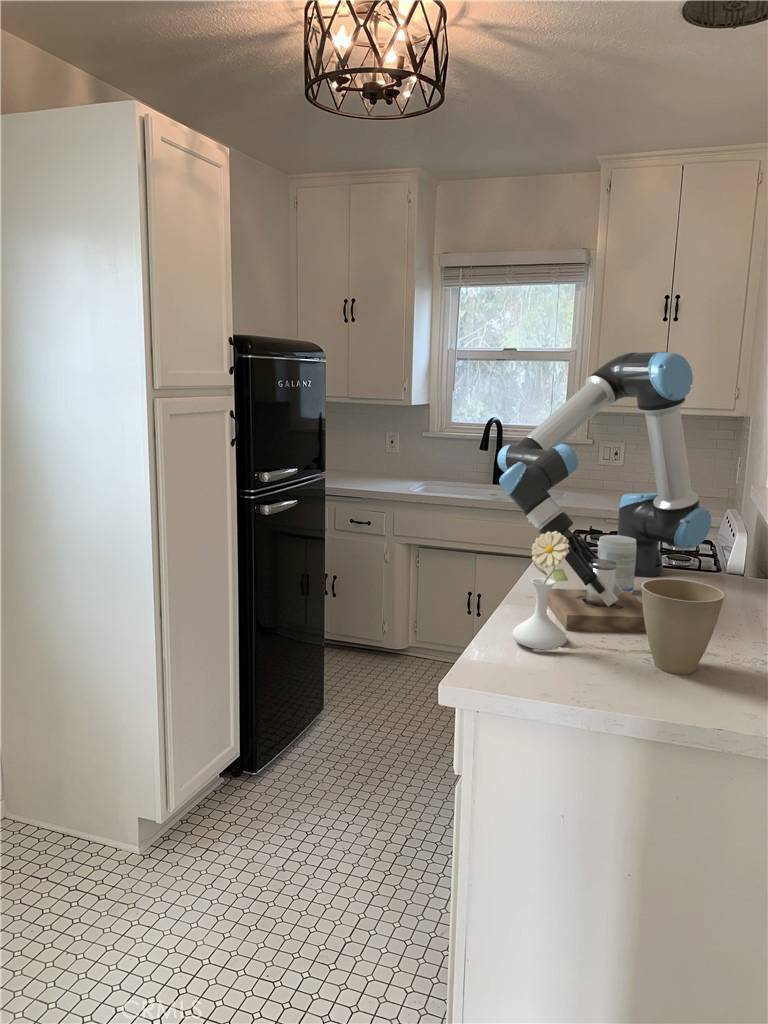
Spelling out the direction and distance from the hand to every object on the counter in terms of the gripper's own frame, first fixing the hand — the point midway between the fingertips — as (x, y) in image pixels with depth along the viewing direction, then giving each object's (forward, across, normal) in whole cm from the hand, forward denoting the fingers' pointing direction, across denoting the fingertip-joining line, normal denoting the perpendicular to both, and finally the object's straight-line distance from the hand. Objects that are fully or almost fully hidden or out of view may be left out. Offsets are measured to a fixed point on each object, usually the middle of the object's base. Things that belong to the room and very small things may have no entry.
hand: (615, 599), depth 169 cm
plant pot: (+15, +20, +6) cm, 26 cm away
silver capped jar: (+1, 0, -6) cm, 6 cm away
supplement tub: (+1, -26, -8) cm, 27 cm away
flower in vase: (-3, +23, -12) cm, 26 cm away
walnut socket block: (+2, 0, -7) cm, 7 cm away
